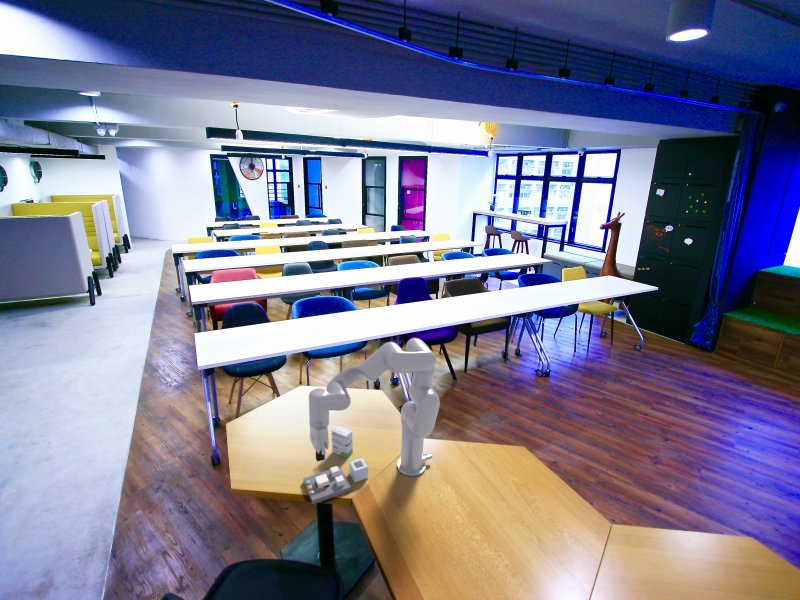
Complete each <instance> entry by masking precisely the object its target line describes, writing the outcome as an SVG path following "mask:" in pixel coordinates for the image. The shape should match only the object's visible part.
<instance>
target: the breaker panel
mask: <svg viewBox="0 0 800 600" xmlns="http://www.w3.org/2000/svg"><path fill="white" fill-rule="evenodd" d="M323 474H326V476H327V478H328V480H329V485H327V487H326V486H325V487H322V488H321V489H320V488H318V486H317V484H316V481H315V477H317V476H320V475H323ZM302 481H303V484H304V486H305V489H306V492H307V493H308V497H309V499H310V502H311V501H312V502H311V504H312V505H315V504H319V503H321V502H323V501H326V500H328V499H332V498H334V497H336V496H340V495H343V494H346V493H349V492H351V491H352V485H351V483H350V482H349V480H348V479H347V476H346V475H345V473H344V471H343V469H342V468H341V466H338V465H335V466H332V467H330V468H329V469H328V470H325V471H322V472H318V473H315V474H313V475H310V476H305V477H303V480H302Z"/></svg>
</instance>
